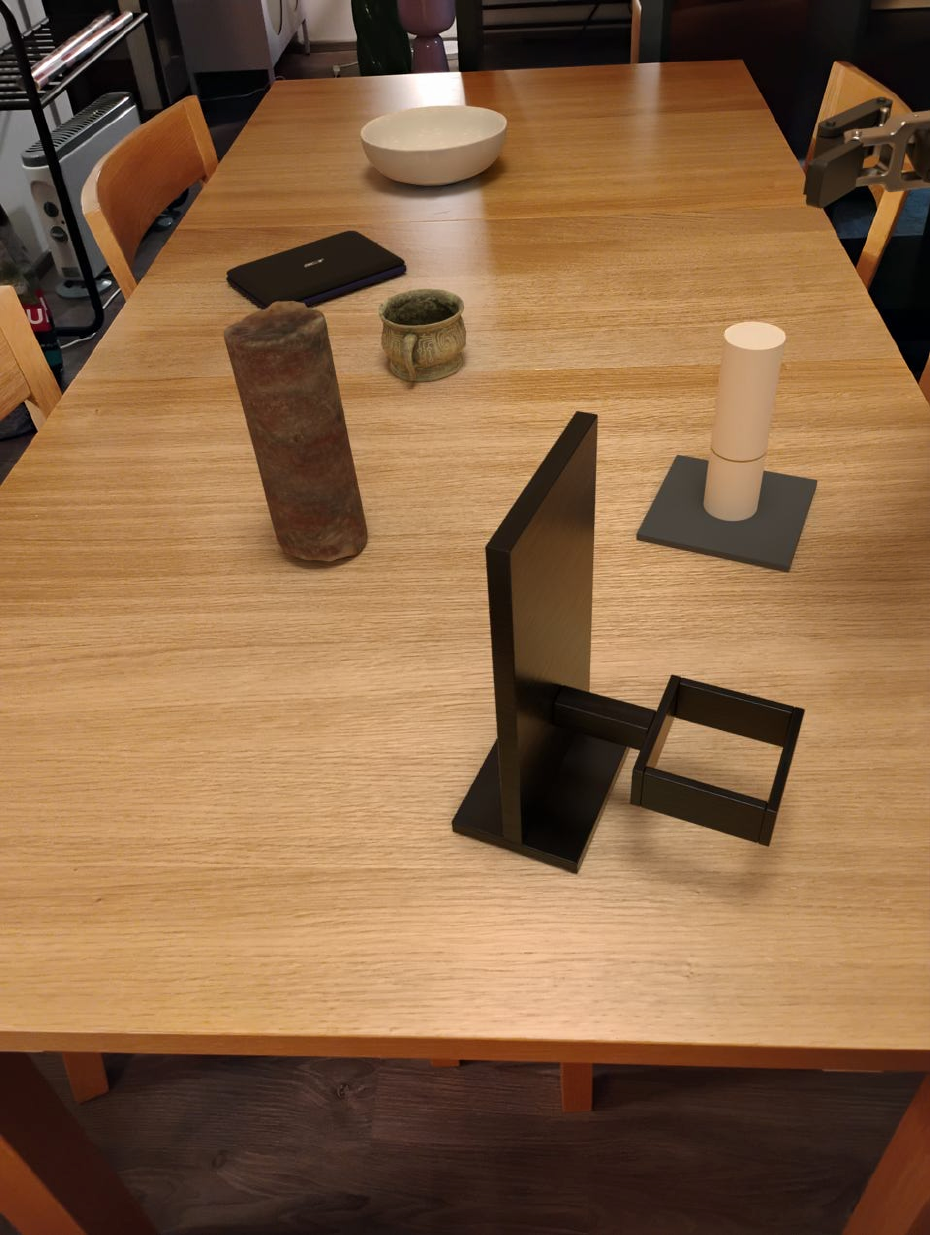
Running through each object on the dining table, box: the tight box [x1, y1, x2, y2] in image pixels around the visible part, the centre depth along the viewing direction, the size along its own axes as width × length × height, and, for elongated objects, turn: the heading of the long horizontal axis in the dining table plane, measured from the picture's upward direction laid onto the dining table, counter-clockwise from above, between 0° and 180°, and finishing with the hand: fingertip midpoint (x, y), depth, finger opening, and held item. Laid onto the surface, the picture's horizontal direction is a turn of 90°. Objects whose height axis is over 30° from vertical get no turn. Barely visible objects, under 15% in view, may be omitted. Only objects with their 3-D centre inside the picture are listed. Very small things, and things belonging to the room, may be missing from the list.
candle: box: [223, 301, 368, 562], centre depth 75 cm, size 8×7×20 cm
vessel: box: [378, 288, 467, 383], centre depth 101 cm, size 12×9×6 cm
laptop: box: [225, 230, 407, 310], centre depth 120 cm, size 16×20×2 cm
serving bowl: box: [359, 105, 508, 187], centre depth 142 cm, size 21×21×7 cm
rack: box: [451, 410, 806, 874], centre depth 53 cm, size 18×12×23 cm
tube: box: [704, 321, 787, 521], centre depth 76 cm, size 4×4×15 cm
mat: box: [635, 454, 818, 573], centre depth 81 cm, size 12×12×1 cm
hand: (898, 206), depth 46 cm, fingers open, 8 cm apart
